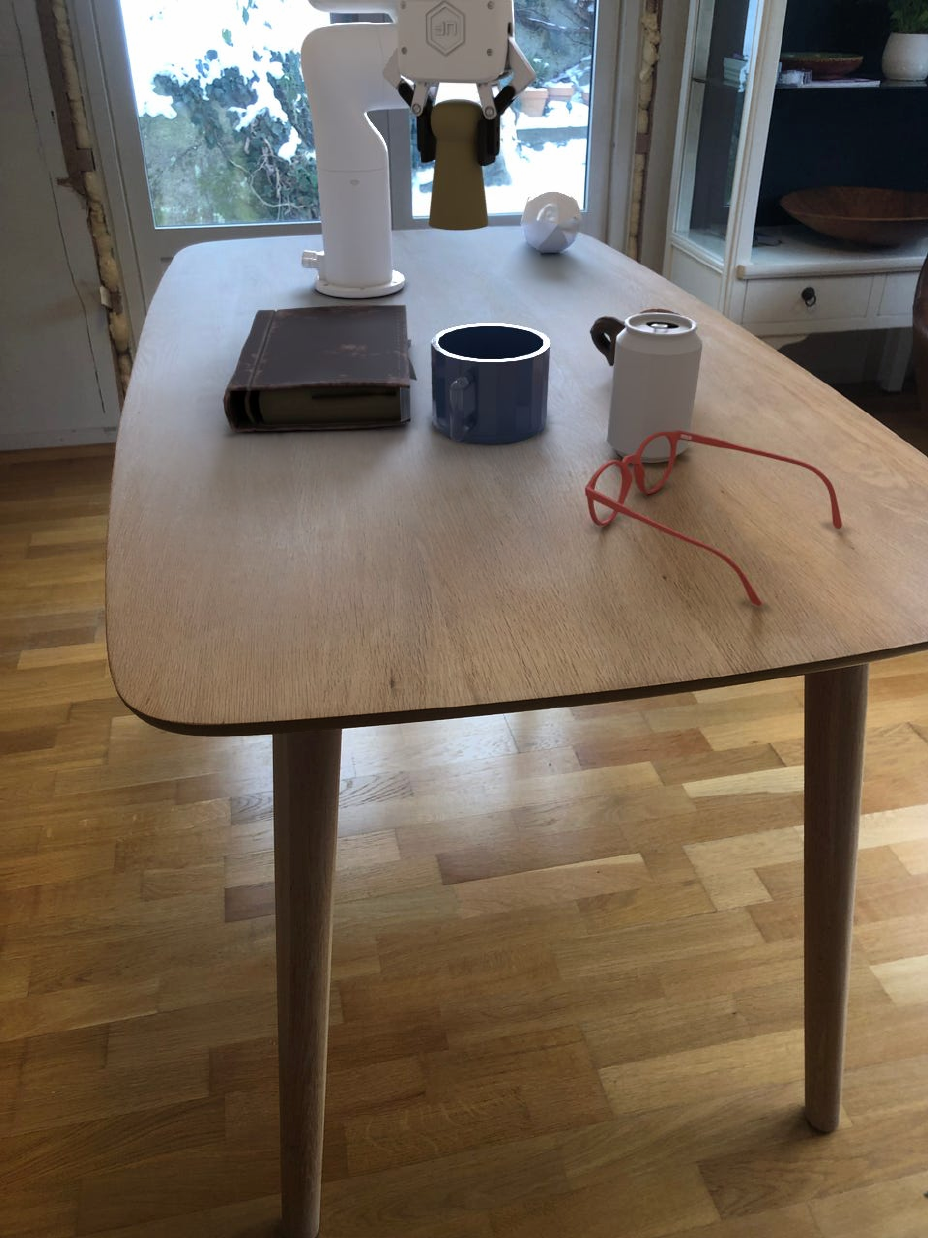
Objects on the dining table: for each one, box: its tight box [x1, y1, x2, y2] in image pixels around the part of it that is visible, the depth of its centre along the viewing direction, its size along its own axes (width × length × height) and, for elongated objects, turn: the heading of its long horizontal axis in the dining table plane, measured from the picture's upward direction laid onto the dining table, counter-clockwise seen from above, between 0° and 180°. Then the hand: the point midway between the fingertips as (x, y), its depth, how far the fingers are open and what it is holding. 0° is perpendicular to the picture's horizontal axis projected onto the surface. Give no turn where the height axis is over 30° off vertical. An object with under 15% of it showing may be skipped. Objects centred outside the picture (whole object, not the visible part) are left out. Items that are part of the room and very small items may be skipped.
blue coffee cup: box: [430, 323, 551, 445], centre depth 91 cm, size 15×11×8 cm
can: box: [606, 313, 703, 464], centre depth 86 cm, size 8×8×12 cm
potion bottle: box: [519, 188, 583, 254], centre depth 151 cm, size 9×10×15 cm
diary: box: [222, 304, 418, 433], centre depth 101 cm, size 19×25×5 cm
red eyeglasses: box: [584, 430, 843, 607], centre depth 74 cm, size 17×16×5 cm
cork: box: [428, 98, 490, 232], centre depth 93 cm, size 6×6×11 cm
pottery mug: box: [589, 308, 697, 367], centre depth 103 cm, size 12×10×8 cm
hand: (458, 160), depth 92 cm, fingers closed on cork, 5 cm apart
